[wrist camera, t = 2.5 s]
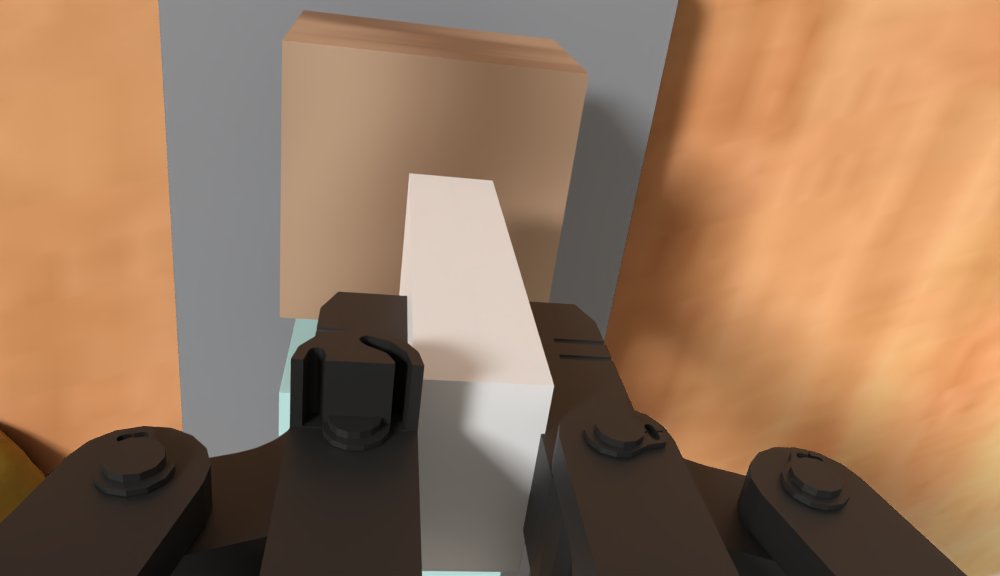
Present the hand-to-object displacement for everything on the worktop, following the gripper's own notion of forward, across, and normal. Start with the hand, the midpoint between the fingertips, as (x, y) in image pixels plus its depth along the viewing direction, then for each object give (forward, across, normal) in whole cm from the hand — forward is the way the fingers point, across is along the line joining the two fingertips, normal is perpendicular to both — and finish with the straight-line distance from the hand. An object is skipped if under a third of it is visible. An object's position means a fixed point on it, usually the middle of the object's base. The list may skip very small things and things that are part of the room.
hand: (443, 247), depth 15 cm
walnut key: (+7, 0, 0) cm, 7 cm away
